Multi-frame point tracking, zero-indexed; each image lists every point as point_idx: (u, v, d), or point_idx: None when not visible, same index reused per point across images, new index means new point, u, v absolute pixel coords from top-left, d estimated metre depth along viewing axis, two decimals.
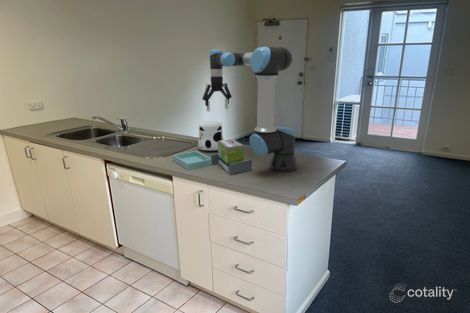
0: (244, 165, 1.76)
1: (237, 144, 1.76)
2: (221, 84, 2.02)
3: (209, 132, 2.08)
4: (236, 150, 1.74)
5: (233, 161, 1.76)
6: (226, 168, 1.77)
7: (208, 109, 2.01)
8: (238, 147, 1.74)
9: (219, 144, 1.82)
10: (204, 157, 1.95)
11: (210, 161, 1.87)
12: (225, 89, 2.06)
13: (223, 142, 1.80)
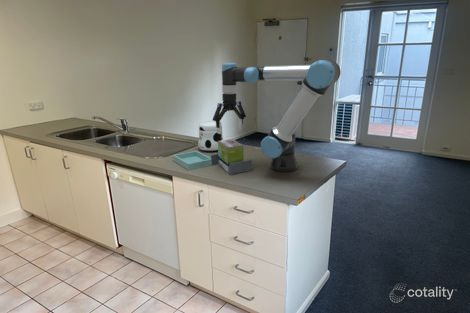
0: (244, 165, 1.76)
1: (237, 144, 1.76)
2: (234, 102, 1.74)
3: (209, 132, 2.08)
4: (236, 150, 1.74)
5: (233, 161, 1.76)
6: (226, 168, 1.77)
7: (219, 131, 1.73)
8: (238, 147, 1.74)
9: (219, 144, 1.82)
10: (204, 157, 1.95)
11: (210, 161, 1.87)
12: (239, 108, 1.78)
13: (223, 142, 1.81)
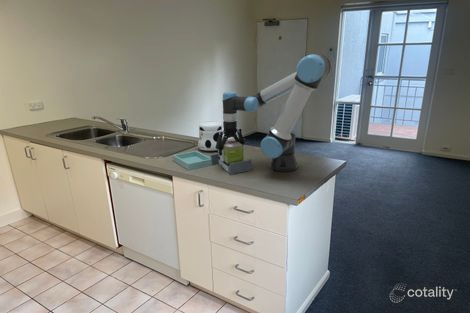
0: (244, 165, 1.76)
1: (237, 144, 1.76)
2: (235, 129, 1.78)
3: (209, 132, 2.08)
4: (236, 150, 1.74)
5: (233, 161, 1.76)
6: (226, 168, 1.77)
7: (222, 159, 1.79)
8: (238, 147, 1.74)
9: None
10: (204, 157, 1.95)
11: (210, 161, 1.87)
12: (238, 135, 1.83)
13: None
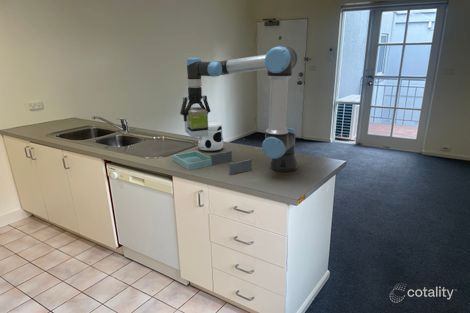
0: (244, 165, 1.76)
1: (201, 110, 1.78)
2: (200, 96, 1.80)
3: (209, 132, 2.08)
4: (200, 115, 1.76)
5: (197, 126, 1.78)
6: (190, 134, 1.79)
7: (187, 125, 1.81)
8: (202, 113, 1.77)
9: None
10: (204, 157, 1.95)
11: (210, 161, 1.87)
12: (204, 102, 1.85)
13: None
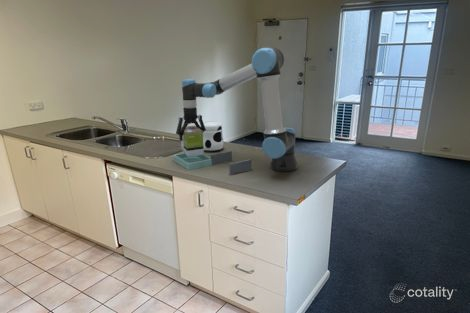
0: (244, 165, 1.76)
1: (197, 129, 1.83)
2: (195, 115, 1.85)
3: (209, 132, 2.08)
4: (195, 135, 1.81)
5: (193, 146, 1.82)
6: (186, 153, 1.84)
7: (182, 144, 1.85)
8: (197, 132, 1.81)
9: None
10: (204, 157, 1.95)
11: (210, 161, 1.87)
12: (199, 121, 1.89)
13: None
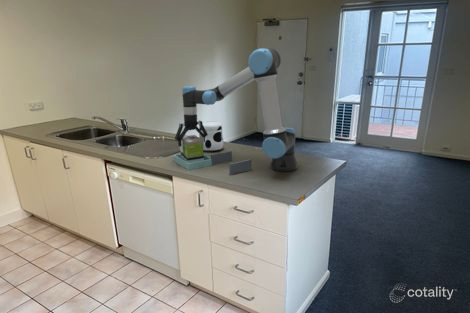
0: (244, 165, 1.76)
1: (197, 139, 1.85)
2: (195, 122, 1.86)
3: (209, 132, 2.08)
4: (196, 145, 1.83)
5: (193, 156, 1.84)
6: None
7: (181, 149, 1.86)
8: (198, 142, 1.83)
9: None
10: (204, 157, 1.95)
11: (210, 161, 1.87)
12: (200, 127, 1.90)
13: (184, 138, 1.88)
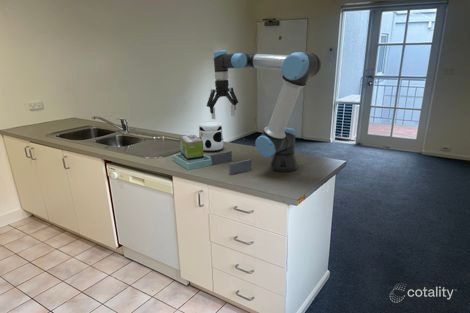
0: (244, 165, 1.76)
1: (197, 139, 1.85)
2: (227, 88, 1.82)
3: (209, 132, 2.08)
4: (196, 145, 1.83)
5: (193, 156, 1.84)
6: None
7: (213, 117, 1.80)
8: (198, 142, 1.83)
9: (181, 140, 1.90)
10: (204, 157, 1.95)
11: (210, 161, 1.87)
12: (231, 94, 1.86)
13: (184, 138, 1.88)
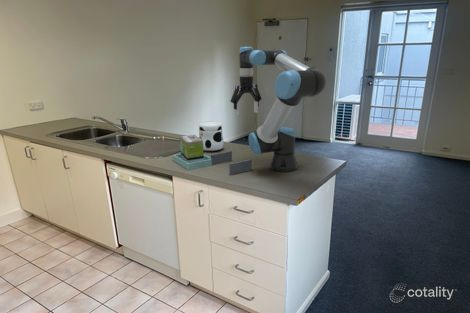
0: (244, 165, 1.76)
1: (197, 139, 1.85)
2: (251, 85, 1.82)
3: (209, 132, 2.08)
4: (196, 145, 1.83)
5: (193, 156, 1.84)
6: None
7: (237, 113, 1.82)
8: (198, 142, 1.83)
9: (181, 140, 1.90)
10: (204, 157, 1.95)
11: (210, 161, 1.87)
12: (255, 90, 1.86)
13: (184, 138, 1.88)
